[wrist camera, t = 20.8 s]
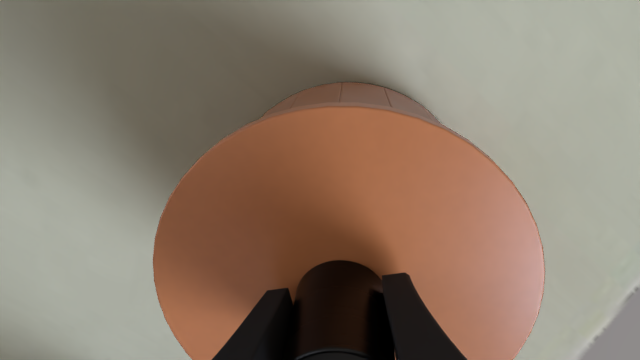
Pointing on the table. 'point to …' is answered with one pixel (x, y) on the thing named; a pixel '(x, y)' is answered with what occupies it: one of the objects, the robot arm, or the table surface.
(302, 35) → the table surface
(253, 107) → the table surface
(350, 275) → the pot lid
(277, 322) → the robot arm
